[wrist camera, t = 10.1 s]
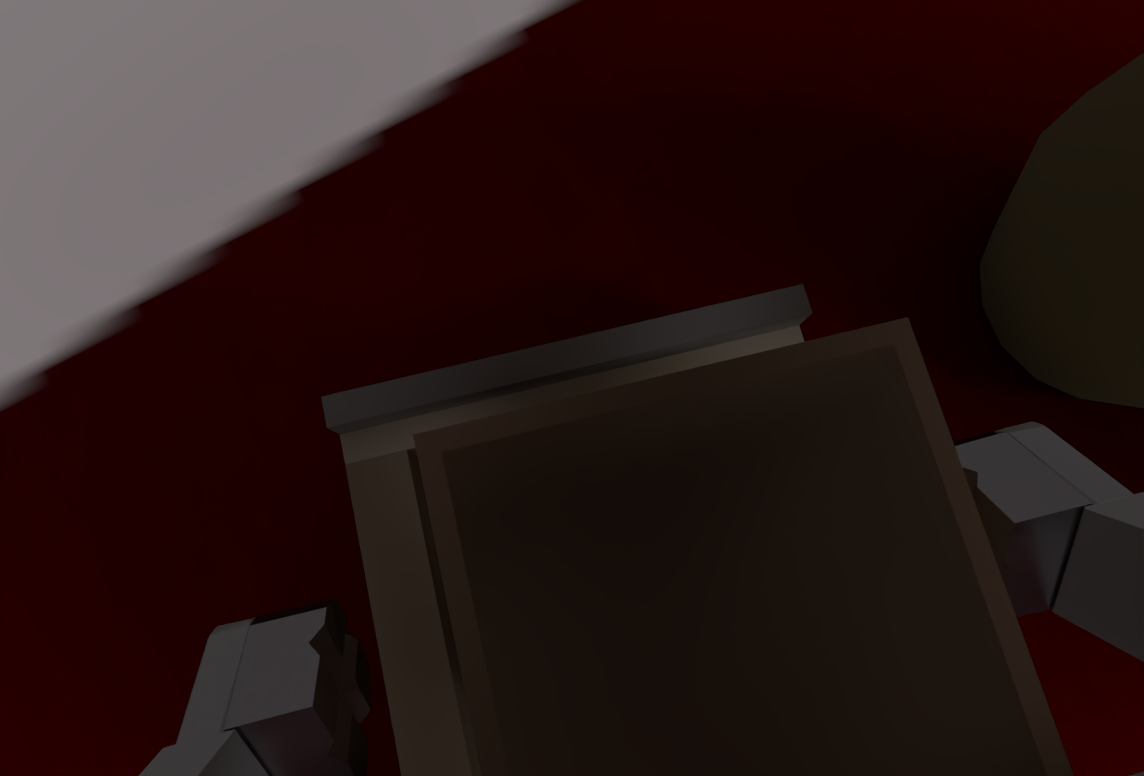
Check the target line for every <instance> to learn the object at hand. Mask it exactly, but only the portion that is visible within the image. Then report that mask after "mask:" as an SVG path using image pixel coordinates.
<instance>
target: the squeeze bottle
mask: <svg viewBox="0 0 1144 776" xmlns="http://www.w3.org/2000/svg"><path fill="white" fill-rule="evenodd" d="M980 278H981V294H982V306H983V308H984V311H985V313H986V315H987V317H988V319H989V321H990V323H991V325H992V327H993V329H994V331H995V333H996V335H997V337H998V339H999V341H1000V343H1001V346H1002V347H1003V348H1004V349H1005V350H1006V351H1007V352H1008V353H1009V354H1010V355H1011V356H1013V357H1014V358H1015V359H1016V360H1017V361H1018V362H1019V363H1020V364H1021V365H1022V366H1023V367H1024V368H1025V369H1026V370H1027V371H1028V372H1029V373H1030V374H1031V375H1032V376H1033V377H1034V378H1035V379H1037V380H1039V381H1042V382H1044V383H1046V384H1048V385H1050V386H1053V387H1055V388H1057V389H1059V390H1061V391H1064V392H1066V393H1068V394H1070V395H1072V396H1075V397H1077V398H1080V399H1086V400H1093V401H1099V402H1106V403H1112V404H1119V405H1125V406H1132V407H1138V408H1144V53H1143V54H1141V55H1140V56H1138V57H1137V58H1135V59H1134V60H1133V61H1131V62H1130V63H1128V64H1127V65H1125V66H1124V67H1123V68H1121V69H1120V70H1118V71H1117V72H1115V73H1114V74H1112V75H1111V76H1110V77H1108V78H1107V79H1105V80H1104V81H1102V82H1101V83H1100V84H1098V85H1097V86H1095V87H1094V88H1092V89H1091V90H1090V91H1088V92H1087V93H1085V94H1084V95H1083V96H1082V97H1081V98H1080V99H1079V100H1078V101H1077V102H1076V103H1074V104H1073V105H1072V106H1071V107H1070V108H1069V109H1068V110H1067V111H1066V112H1065V113H1063V114H1062V115H1061V116H1060V117H1059V118H1058V119H1057V120H1056V121H1055V122H1054V123H1052V124H1051V125H1050V126H1049V127H1048V128H1047V129H1046V130H1045V131H1044V132H1043V133H1041V134H1040V136H1039V139H1038V141H1037V143H1036V145H1035V147H1034V149H1033V151H1032V153H1031V155H1030V157H1029V159H1028V161H1027V163H1026V165H1025V167H1024V169H1023V171H1022V173H1021V175H1020V177H1019V179H1018V181H1017V183H1016V185H1015V187H1014V189H1013V191H1012V193H1011V195H1010V197H1009V199H1008V201H1007V203H1006V205H1005V207H1004V209H1003V211H1002V213H1001V215H1000V217H999V219H998V221H997V223H996V225H995V227H994V229H993V231H992V234H991V237H990V239H989V242H988V244H987V247H986V250H985V252H984V255H983V257H982V260H981V262H980Z"/></svg>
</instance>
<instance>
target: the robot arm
mask: <svg viewBox="0 0 1144 776" xmlns="http://www.w3.org/2000/svg"><path fill="white" fill-rule="evenodd" d="M953 443H954V446H955V449H956V452H957V454H958V457H959V460H960V463H961V465H962V468H963V471H964V474H965V476H966V479H967V482H968V485H969V488H970V490H971V493H972V496H973V499H974V501H975V504H976V507H977V510H978V512H979V515H980V518H981V521H982V524H983V526H984V529H985V532H986V535H987V537H988V540H989V543H990V546H991V548H992V551H993V554H994V557H995V560H996V562H997V565H998V568H999V571H1000V573H1001V576H1002V579H1003V582H1004V584H1005V587H1006V590H1007V593H1008V596H1009V598H1010V601H1011V604H1012V607H1013V609H1014V612H1015V615H1016V617H1019V616H1023V615H1027V614H1031V613H1036V612H1040V611H1044V610H1048V609H1052V608H1053V611H1052V612H1054V613H1056V614H1057V615H1059V616H1061V617H1063V618H1065V619H1066V620H1068V621H1070V622H1072V623H1074V624H1076V625H1077V626H1079V627H1081V628H1083V629H1085V630H1087V631H1088V632H1090V633H1092V634H1094V635H1096V636H1098V637H1099V638H1101V639H1103V640H1105V641H1107V642H1109V643H1110V644H1112V645H1114V646H1116V647H1118V648H1119V649H1121V650H1123V651H1125V652H1127V653H1129V654H1130V655H1132V656H1134V657H1136V658H1138V659H1140V660H1141V661H1143V662H1144V492H1141V493H1137V494H1133V493H1132V492H1130V491H1129V490H1128V489H1126V488H1125V487H1124V486H1122V485H1121V484H1120V483H1119V482H1117V481H1116V480H1115V479H1113V478H1112V477H1111V476H1109V475H1108V474H1107V473H1106V472H1104V471H1103V470H1102V469H1100V468H1099V467H1098V466H1096V465H1095V464H1094V463H1093V462H1091V461H1090V460H1089V459H1087V458H1086V457H1085V456H1083V455H1082V454H1081V453H1080V452H1078V451H1077V450H1076V449H1074V448H1073V447H1072V446H1070V445H1069V444H1068V443H1067V442H1065V441H1064V440H1063V439H1061V438H1060V437H1059V436H1057V435H1056V434H1055V433H1053V432H1052V431H1051V430H1050V429H1048V428H1047V427H1046V426H1044V425H1042V424H1039V423H1036V422H1032V421H1031V422H1028V423H1024V424H1020V425H1016V426H1012V427H1009V428H1005V429H1001V430H997V431H996V432H990V433H986V434H982V435H979V436H975V437H971V438H967V439H963V440H959V441H956V442H953ZM346 621H347V616H346V615H345V613H344V611H343V609H342V608H341V606H340V604H339V602H338V601H336V600H327V601H323V602H319V603H314V604H310V605H305V606H301V607H296V608H292V609H288V610H283V611H279V612H274V613H270V614H266V615H261V616H257V617H256V618H252V619H247V620H243V621H238V622H234V623H229V624H225V625H220V626H217V627H216V628H215V630H214V631H213V632H212V633H211V634H210V636H209V638H208V640H207V644H206V647H205V650H204V653H203V657H202V660H201V663H200V666H199V670H198V673H197V676H196V680H195V683H194V686H193V689H192V693H191V696H190V699H189V702H188V706H187V709H186V712H185V716H184V719H183V722H182V725H181V729H180V732H179V735H178V738H177V742H176V744H175V745H172V746H168V747H165V748H163V749H162V750H161V751H160V752H159V753H158V754H157V756H156V757H155V758H154V759H153V760H152V761H151V762H150V763H149V765H148V766H147V767H146V768H145V769H144V770H143V771H142V773H141V774H140V775H139V776H366V768H367V754H368V740H367V738H366V736H365V735H364V733H363V731H362V729H361V727H360V724H361V723H362V721H363V720H364V718H365V717H366V715H367V714H368V712H369V711H370V705H371V683H370V675H369V667H368V663H367V660H366V657H365V653H364V650H363V648H362V646H361V644H360V642H359V640H358V639H357V638H355V637H353V636H351V635H348V634H346V633H345V631H346ZM1130 776H1144V772H1140V773H1137V774H1133V775H1130Z"/></svg>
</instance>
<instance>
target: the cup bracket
mask: <svg viewBox="0 0 1144 776" xmlns="http://www.w3.org/2000/svg"><path fill="white" fill-rule="evenodd" d="M810 314H812V310H811V307H810V304H809V301H808V298H807V295H806V292H805V289H804V286H803V284H801V285H797V286H792V287H788V288H784V289H780V290H775V291H771V292H767V293H762V294H758V295H754V296H750V297H745V298H741V299H737V300H733V301H728V302H724V303H720V304H715V305H711V306H707V307H703V308H698V309H694V310H690V311H685V312H681V313H677V314H673V315H668V316H664V317H660V318H656V319H651V320H647V321H643V322H638V323H634V324H630V325H626V326H621V327H617V328H613V329H609V330H604V331H600V332H596V333H591V334H587V335H583V336H579V337H574V338H570V339H566V340H561V341H557V342H553V343H549V344H544V345H540V346H536V347H532V348H527V349H523V350H519V351H514V352H510V353H506V354H502V355H497V356H493V357H489V358H485V359H480V360H476V361H472V362H467V363H463V364H459V365H455V366H450V367H446V368H442V369H437V370H433V371H429V372H425V373H420V374H416V375H412V376H408V377H403V378H399V379H395V380H390V381H386V382H382V383H378V384H373V385H369V386H365V387H361V388H356V389H352V390H348V391H343V392H339V393H335V394H331V395H326V396H322V397H321V398H322V404H323V409H324V415H325V421H326V426H327V428H328V429H330V430H332V431H334V432H336V433H338V434H340V438H341V444H342V449H343V455H344V460H345V466H346V471H347V477H348V483H349V488H350V494H351V499H352V505H353V510H354V516H355V521H356V527H357V532H358V538H359V543H360V549H361V555H362V560H363V566H364V571H365V577H366V582H367V588H368V593H369V599H370V604H371V610H372V615H373V621H374V626H375V632H376V638H377V643H378V649H379V654H380V660H381V665H382V671H383V676H384V682H385V687H386V693H387V698H388V704H389V710H390V715H391V721H392V726H393V732H394V737H395V743H396V748H397V754H398V759H399V765H400V770H401V776H482V775H481V770H480V765H479V760H478V755H477V750H476V745H475V740H474V735H473V730H472V725H471V720H470V715H469V710H468V705H467V700H466V695H465V690H464V685H463V680H462V675H461V670H460V665H459V661H458V656H457V651H456V646H455V641H454V636H453V631H452V626H451V621H450V616H449V611H448V606H447V601H446V596H445V591H444V586H443V581H442V576H441V571H440V566H439V561H438V556H437V552H436V547H435V542H434V537H433V532H432V527H431V522H430V517H429V512H428V507H427V502H426V497H425V492H424V487H423V482H422V477H421V472H420V467H419V462H418V457H417V452H416V447H415V443H414V438H413V434H417V433H421V432H426V431H430V430H434V429H438V428H443V427H447V426H451V425H455V424H459V423H464V422H468V421H472V420H476V419H481V418H485V417H489V416H493V415H497V414H502V413H506V412H510V411H514V410H519V409H523V408H527V407H531V406H535V405H540V404H544V403H548V402H552V401H557V400H561V399H565V398H569V397H573V396H578V395H582V394H586V393H590V392H595V391H599V390H603V389H607V388H611V387H616V386H620V385H624V384H628V383H633V382H637V381H641V380H645V379H649V378H654V377H658V376H662V375H666V374H671V373H675V372H679V371H683V370H687V369H692V368H696V367H700V366H704V365H709V364H713V363H717V362H721V361H725V360H730V359H734V358H738V357H742V356H747V355H751V354H755V353H759V352H763V351H768V350H772V349H776V348H780V347H785V346H789V345H793V344H797V343H801V342H804V339H803V336H802V333H801V330H800V327H799V325H800V324H801V323H802V322H803V321H804V320H805V319H806V318H807V317H808V316H809V315H810Z"/></svg>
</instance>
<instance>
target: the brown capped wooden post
mask: <svg viewBox="0 0 1144 776" xmlns="http://www.w3.org/2000/svg"><path fill="white" fill-rule="evenodd" d="M413 438H414V443H415V447H416V452H417V457H418V462H419V467H420V472H421V477H422V482H423V487H424V492H425V497H426V502H427V507H428V512H429V517H430V522H431V527H432V532H433V537H434V542H435V547H436V552H437V556H438V561H439V566H440V571H441V576H442V581H443V586H444V591H445V596H446V601H447V606H448V611H449V616H450V621H451V626H452V631H453V636H454V641H455V646H456V651H457V656H458V661H459V665H460V670H461V675H462V680H463V685H464V690H465V695H466V700H467V705H468V710H469V715H470V720H471V725H472V730H473V735H474V740H475V745H476V750H477V755H478V760H479V765H480V770H481V775H482V776H1074V775H1073V773H1072V770H1071V767H1070V764H1069V762H1068V759H1067V756H1066V753H1065V751H1064V748H1063V745H1062V742H1061V739H1060V737H1059V734H1058V731H1057V728H1056V726H1055V723H1054V720H1053V717H1052V715H1051V712H1050V709H1049V706H1048V703H1047V701H1046V698H1045V695H1044V692H1043V690H1042V687H1041V684H1040V681H1039V679H1038V676H1037V673H1036V670H1035V667H1034V665H1033V662H1032V659H1031V656H1030V654H1029V651H1028V648H1027V645H1026V643H1025V640H1024V637H1023V634H1022V632H1021V629H1020V626H1019V623H1018V620H1017V618H1016V615H1015V612H1014V609H1013V607H1012V604H1011V601H1010V598H1009V596H1008V593H1007V590H1006V587H1005V584H1004V582H1003V579H1002V576H1001V573H1000V571H999V568H998V565H997V562H996V560H995V557H994V554H993V551H992V548H991V546H990V543H989V540H988V537H987V535H986V532H985V529H984V526H983V524H982V521H981V518H980V515H979V512H978V510H977V507H976V504H975V501H974V499H973V496H972V493H971V490H970V488H969V485H968V482H967V479H966V476H965V474H964V471H963V468H962V465H961V463H960V460H959V457H958V454H957V452H956V449H955V446H954V443H953V440H952V438H951V435H950V432H949V429H948V427H947V424H946V421H945V418H944V416H943V413H942V410H941V407H940V404H939V402H938V399H937V396H936V393H935V391H934V388H933V385H932V382H931V380H930V377H929V374H928V371H927V368H926V366H925V363H924V360H923V357H922V355H921V352H920V349H919V346H918V344H917V341H916V338H915V335H914V333H913V330H912V327H911V324H910V321H909V319H908V317H907V318H903V319H898V320H894V321H890V322H886V323H882V324H877V325H873V326H869V327H865V328H860V329H856V330H852V331H848V332H844V333H839V334H835V335H831V336H827V337H823V338H818V339H814V340H810V341H806V342H801V343H797V344H793V345H789V346H785V347H780V348H776V349H772V350H768V351H763V352H759V353H755V354H751V355H747V356H742V357H738V358H734V359H730V360H725V361H721V362H717V363H713V364H709V365H704V366H700V367H696V368H692V369H687V370H683V371H679V372H675V373H671V374H666V375H662V376H658V377H654V378H649V379H645V380H641V381H637V382H633V383H628V384H624V385H620V386H616V387H611V388H607V389H603V390H599V391H595V392H590V393H586V394H582V395H578V396H573V397H569V398H565V399H561V400H557V401H552V402H548V403H544V404H540V405H535V406H531V407H527V408H523V409H519V410H514V411H510V412H506V413H502V414H497V415H493V416H489V417H485V418H481V419H476V420H472V421H468V422H464V423H459V424H455V425H451V426H447V427H443V428H438V429H434V430H430V431H426V432H421V433H417V434H413Z"/></svg>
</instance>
